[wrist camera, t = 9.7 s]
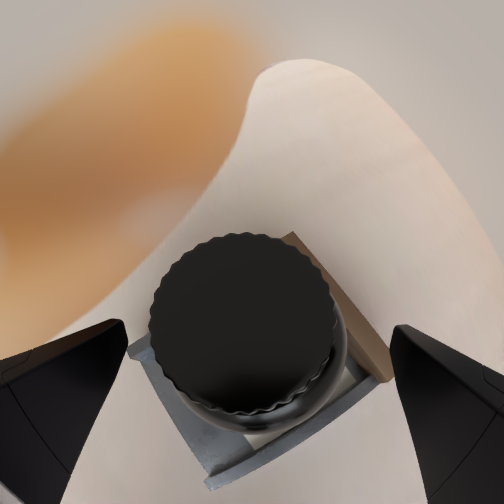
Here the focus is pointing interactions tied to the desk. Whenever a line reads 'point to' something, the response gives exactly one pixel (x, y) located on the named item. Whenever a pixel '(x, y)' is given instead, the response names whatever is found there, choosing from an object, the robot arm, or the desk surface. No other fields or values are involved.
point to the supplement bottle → (248, 334)
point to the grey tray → (275, 444)
